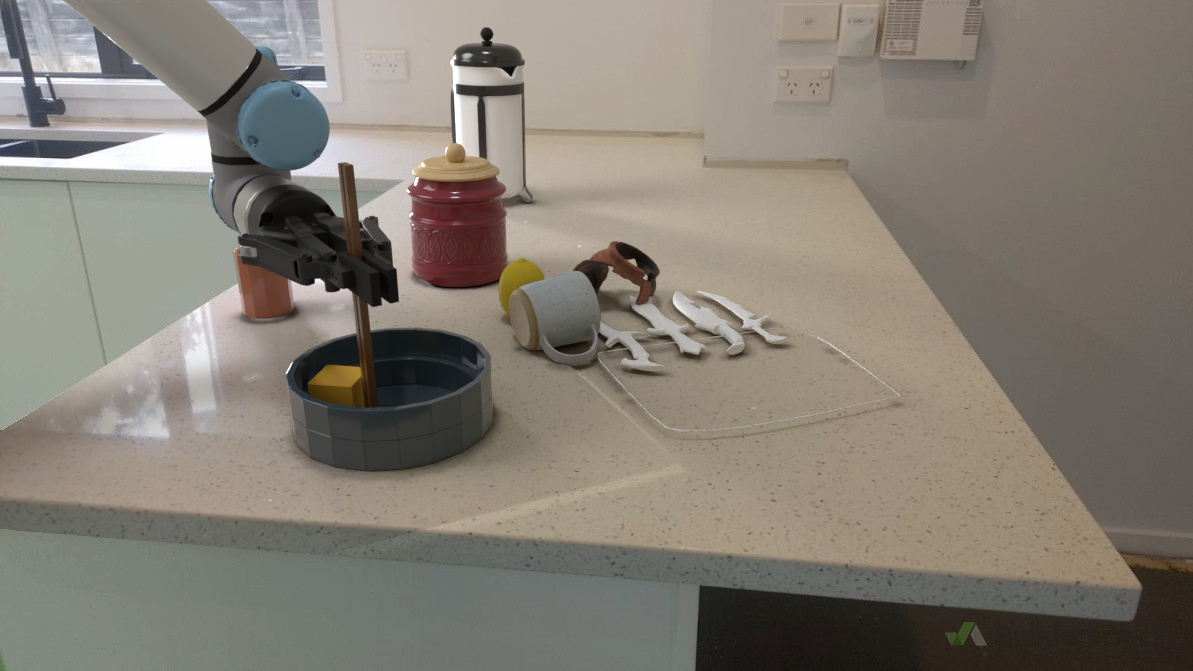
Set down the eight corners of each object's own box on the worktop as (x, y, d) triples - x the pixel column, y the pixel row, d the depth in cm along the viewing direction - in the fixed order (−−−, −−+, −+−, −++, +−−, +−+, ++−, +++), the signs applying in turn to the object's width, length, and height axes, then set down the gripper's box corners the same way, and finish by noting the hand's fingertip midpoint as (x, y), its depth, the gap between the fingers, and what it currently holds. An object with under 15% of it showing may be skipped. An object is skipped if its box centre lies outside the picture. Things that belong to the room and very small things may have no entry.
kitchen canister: (507, 288, 109) (503, 152, 103) (406, 289, 109) (396, 152, 102) (509, 259, 121) (506, 135, 115) (419, 259, 120) (410, 134, 114)
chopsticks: (372, 420, 73) (344, 165, 65) (365, 414, 74) (337, 162, 66) (380, 418, 73) (353, 164, 65) (372, 412, 74) (345, 161, 66)
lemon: (502, 333, 95) (500, 266, 92) (497, 316, 100) (495, 251, 97) (550, 330, 96) (549, 264, 93) (543, 313, 101) (542, 249, 98)
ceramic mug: (506, 339, 94) (502, 274, 91) (572, 324, 97) (570, 262, 94) (547, 376, 85) (545, 306, 82) (617, 358, 89) (617, 291, 86)
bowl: (273, 481, 66) (263, 414, 64) (316, 386, 82) (309, 329, 80) (492, 472, 68) (490, 406, 66) (493, 380, 84) (491, 325, 82)
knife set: (735, 288, 111) (736, 280, 110) (914, 403, 80) (916, 392, 80) (549, 309, 102) (549, 300, 102) (670, 447, 72) (671, 435, 72)
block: (312, 424, 74) (307, 383, 72) (331, 403, 77) (326, 364, 76) (356, 427, 73) (351, 386, 72) (372, 406, 77) (369, 367, 76)
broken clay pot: (601, 287, 112) (632, 237, 109) (646, 332, 108) (680, 281, 104) (540, 284, 103) (573, 229, 100) (587, 333, 98) (622, 277, 95)
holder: (238, 323, 97) (227, 256, 94) (251, 306, 102) (241, 242, 99) (288, 322, 98) (279, 256, 94) (298, 305, 103) (290, 242, 100)
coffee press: (542, 192, 161) (541, 26, 149) (521, 213, 146) (517, 30, 135) (456, 188, 163) (447, 24, 152) (426, 207, 149) (415, 27, 137)
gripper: (357, 247, 87) (466, 315, 70) (217, 270, 79) (301, 353, 62) (350, 175, 84) (462, 227, 67) (205, 192, 77) (288, 255, 59)
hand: (384, 287), depth 64 cm, fingers closed on chopsticks, 1 cm apart
